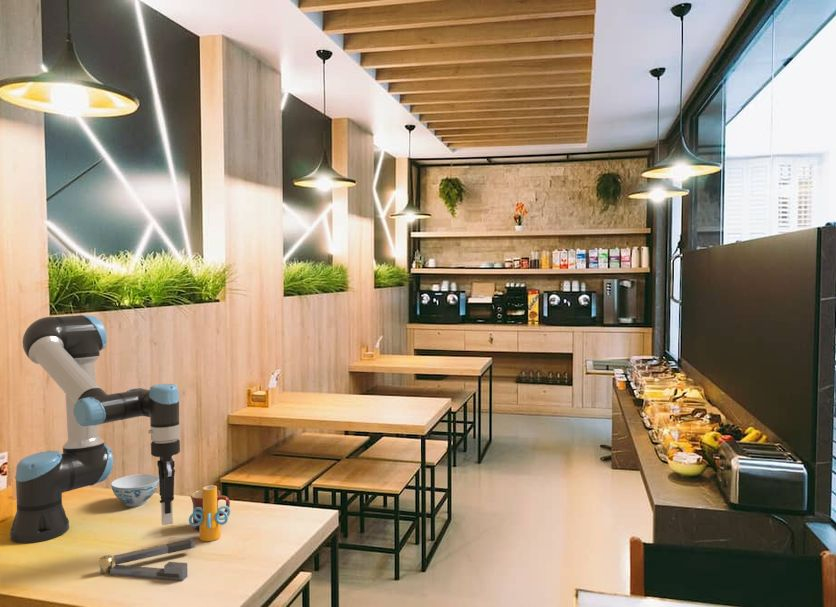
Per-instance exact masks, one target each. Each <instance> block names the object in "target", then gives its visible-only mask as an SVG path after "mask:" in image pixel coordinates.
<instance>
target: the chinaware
mask: <svg viewBox="0 0 836 607" xmlns="http://www.w3.org/2000/svg"><path fill="white" fill-rule="evenodd" d="M110 486H111V489H112V492H113V495H114V496H115V497H116V499H118V500H120V501H121V502H122V503H124V505H125V506H126V507H133V506H134V507H139V506H143V505H145V504H147V502H148V501H147V500H149V499H150V498H151V497H153V495H154V493H156V491H157V489H158V486H159V475H155V474H149V473H140V474H131V475H130V474H129V475H126V476H123V477H119V478H116V479H113V481H112V482H111V484H110ZM134 507H133V508H134Z"/></svg>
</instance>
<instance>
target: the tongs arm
mask: <svg viewBox="0 0 836 607" xmlns="http://www.w3.org/2000/svg"><path fill="white" fill-rule="evenodd" d="M195 548H196V542H195V540H194V539H193V538H190V539H189V538H188V539H182V540H179V541H174V542H169V543H166V544H161V545H157V546H152V547H148V548H143V549H139V550H134V551H129V552H124V553H118V554H115V555H113V562H114V566H115V565H122V564H125V563H131V562H135V561H140V560H144V559H148V558H151V557H152V558H153V557H157V556H162V555H167V554H173V553H178V552H182V551H187V550H191V549H195Z"/></svg>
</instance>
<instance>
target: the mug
mask: <svg viewBox="0 0 836 607" xmlns="http://www.w3.org/2000/svg"><path fill="white" fill-rule="evenodd" d="M189 496H190V500H191V501H192V511H193V510H194V509H195V508H196V507H200V508H202V509H203V489H197V490H196V491H193V492H192V493H190V495H189ZM220 500H224V501H225V506H228V507H229V508H230V507H231V506H230V505H231V500H230V498H229V497H228V496H226V495H221V490H219V489H217V510H218V508H219V501H220ZM224 509H225V508H224ZM223 511H224V512H226V514H227V513H228V511H227V509H225V510H223ZM196 512H201V511H200V510H196ZM201 513H202V512H201ZM219 516H220V517H224V514H222V513H219ZM196 517H197V518H199V519H201V516H200V515H199V514H196ZM198 522H199V521H196V520H195V519H194V517H192V523H194V524H196V523H198ZM199 526H200V525H199ZM199 526H193V527H194V528H195V529H196V530H199Z"/></svg>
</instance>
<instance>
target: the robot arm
mask: <svg viewBox="0 0 836 607" xmlns="http://www.w3.org/2000/svg"><path fill="white" fill-rule="evenodd" d="M107 342H108V334H107V330H106V327H105V326H104V323H103V322H102V321H101V319H100V318H98V317H96V316H94V315H87V314H86V315H82V314H79V315H65V316H64V315H63V316H46V317H42V318H41V317H40V318H39V319H37V320H35V321H34V322H32V323H31V324H30V325H29V326H28V327H27V329H26V330H25V331H24V333H23V336H22V348H23V351H24V353H25V356H26V357H27V358H28V359H29V360H30V362H33V363H34V364H36V365H40V366H41V367H42V368H43V370H44V371H45V372H46V373H47V374H48V375H49V377H50V378H51V379H52V380H53V381H54V383H56V384H57V386H58V387H59V388H60V389H61V390H62V391H63V392H64V393H65V412H66V428H67V441H65V443H64V444H63V445H62V453H61V451H58V450H46V451H39V452H35V453H33V454H30V455H28V456H26V457H24V458H22V459H21V460H19V462H17V464H16V467H15V468H16V469H15V477H14V478H15V489H16V490H15V491H16V494H15V495H16V496H15V497H16V512H15V516H14V518H13V520H12V525H11V527H10V530H9V536H10V537H9V538H10V540H11V541H12V542H15V543H21V544H22V543H23V544H28V543H29V544H30V543H37V542H43V541H47V540H52V539H55V538H58V537H60V536H62V535H64V534H65V533H67V532H68V531H69V529H70V520H69V518H68V517H67V513H66V511H65V508H64V505H63V500H62V499H63V493H67V492H69V491H70V492H71V491H74V490H78V489H82V488H84V487H88V486H90V487H91V486H94V485H96V484H100V483H101V482H104V481H105V480H107V479H108V477H109V476H110V475H111V473H112V471H113V467H114V456H113V453H112V449H111V447H109V445H107V444H105V440H104V439H102V437H100V436H99V426H101V425H103V424H107V423H112V422H117V421H122V420H128V419H133V418H138V417H147V418H149V420H150V422H149V424H150V429H148V432H147V433H148V434H150V441H151V443H150V454H151V455H150V456H152V457H154V458H159V460H156V461H157V462H156V463H157V464H156V465H157V472H158V477H159V484H158V486H159V496H160V500H159V503H160V506H161V507H160V510H161V516H160V517H161V526H167V525H173V523H174V522H173V520H174V518H173V515H174V514H173V501H174V499H175V496H174V495H175V493H174V492H175V491H174V490H175V474H176V473H175V472H176V470H175V460H173V458H172V457H173V456H175V455H178V454H179V453H180V451H181V445H180V444H181V441H180V437H181V434H180V433H181V432H180V429H181V428H180V427H181V424H180V395H179V387H178V386H177V385H176V384H173V383H160V384H154V385H153V384H152V385H151V386H150V388H149V389H146V388H141V387H138V388H130V389H127V390H126V391H123V392H116V393H111V394H110V393H109V394H107V393H106V391H104V390H103V389H102V388H101V386H99V384H98V383H97V382H96V381H97V380H96V365H95V363H96V361H97V360H98V359H99V358H100V357H101V356H100V351H102V350H104V349H105V347H106V346H107V345H106V344H107Z"/></svg>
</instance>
